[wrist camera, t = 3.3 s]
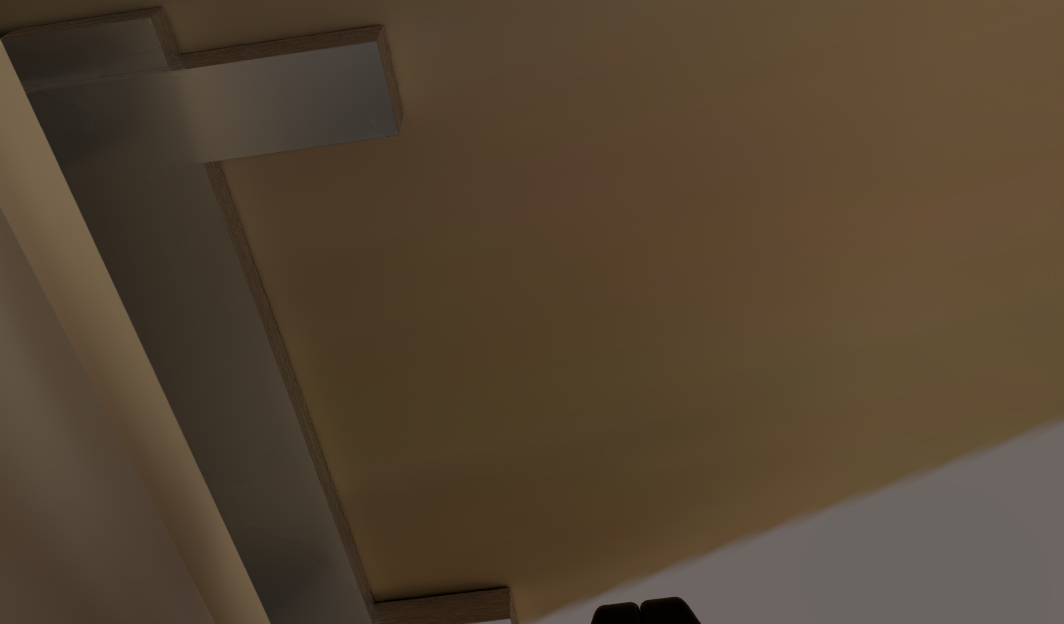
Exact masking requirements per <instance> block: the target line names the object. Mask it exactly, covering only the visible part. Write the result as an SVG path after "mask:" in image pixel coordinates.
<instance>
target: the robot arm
mask: <svg viewBox="0 0 1064 624" xmlns="http://www.w3.org/2000/svg"><path fill="white" fill-rule="evenodd" d="M591 624H701V623H700V622H699V620H698V619H697V618H696V616H695V614H694V613H693V612H692V610H691V609H690V607H689V606H688V605H687V603H686V602H684V600H682V599H681V598H679V597H670V598H661V599H653V600H646V601H644V602H643V603H642V604H641V606H640V609H639V607H638V605H637V604H635V603H633V602H627V603H619V604H611V605H602V606H600V607H599V608H597V610H596V611H595V613H594V616H593V619H592V622H591Z"/></svg>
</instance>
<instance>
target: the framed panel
mask: <svg viewBox="0 0 1064 624" xmlns="http://www.w3.org/2000/svg"><path fill="white" fill-rule="evenodd" d="M0 39H1V42H2V44H3V46H4V48H5V50H6V52H7V55H8V57H9V59H10V61H11V63H12V65H13V68H14V70H15V72H16V74H17V76H18V78H19V81H20V83H21V85H22V87H23V89H24V91H25V94H26V96H27V98H28V100H29V102H30V104H31V107H32V109H33V111H34V113H35V115H36V117H37V119H38V122H39V124H40V126H41V128H42V130H43V132H44V135H45V137H46V139H47V141H48V143H49V145H50V148H51V150H52V152H53V154H54V156H55V158H56V161H57V163H58V165H59V167H60V169H61V171H62V174H63V176H64V178H65V180H66V182H67V184H68V187H69V189H70V191H71V193H72V195H73V197H74V199H75V202H76V204H77V206H78V208H79V210H80V212H81V215H82V217H83V219H84V221H85V223H86V225H87V228H88V230H89V232H90V234H91V236H92V238H93V241H94V243H95V245H96V247H97V249H98V251H99V254H100V256H101V258H102V260H103V262H104V264H105V267H106V269H107V271H108V273H109V275H110V277H111V280H112V282H113V284H114V286H115V288H116V290H117V292H118V295H119V297H120V299H121V301H122V303H123V305H124V308H125V310H126V312H127V314H128V316H129V318H130V321H131V323H132V325H133V327H134V329H135V331H136V334H137V336H138V338H139V340H140V342H141V344H142V347H143V349H144V351H145V353H146V355H147V357H148V360H149V362H150V364H151V366H152V368H153V370H154V372H155V375H156V377H157V379H158V381H159V383H160V385H161V388H162V390H163V392H164V394H165V396H166V398H167V401H168V403H169V405H170V407H171V409H172V411H173V414H174V416H175V418H176V420H177V422H178V424H179V427H180V429H181V431H182V433H183V435H184V437H185V440H186V442H187V444H188V446H189V448H190V450H191V452H192V455H193V457H194V459H195V461H196V463H197V465H198V468H199V470H200V472H201V474H202V476H203V478H204V481H205V483H206V485H207V487H208V489H209V491H210V494H211V496H212V498H213V500H214V502H215V504H216V507H217V509H218V511H219V513H220V515H221V517H222V520H223V522H224V524H225V526H226V528H227V530H228V532H229V535H230V537H231V539H232V541H233V543H234V545H235V548H236V550H237V552H238V554H239V556H240V558H241V561H242V563H243V565H244V567H245V569H246V571H247V574H248V576H249V578H250V580H251V582H252V584H253V587H254V589H255V591H256V593H257V595H258V597H259V600H260V602H261V604H262V606H263V608H264V610H265V612H266V615H267V617H268V619H269V621H270V623H271V624H518V622H517V618H516V613H515V609H514V604H513V600H512V595H511V591H510V588H503V589H495V590H486V591H478V592H469V593H461V594H452V595H444V596H435V597H427V598H418V599H410V600H401V601H393V602H384V603H376V604H375V602H374V599H373V596H372V594H371V591H370V588H369V585H368V582H367V579H366V577H365V574H364V571H363V568H362V565H361V563H360V560H359V557H358V554H357V551H356V549H355V546H354V543H353V540H352V537H351V534H350V532H349V529H348V526H347V523H346V520H345V518H344V515H343V512H342V509H341V506H340V503H339V501H338V498H337V495H336V492H335V489H334V487H333V484H332V481H331V478H330V475H329V473H328V470H327V467H326V464H325V461H324V458H323V456H322V453H321V450H320V447H319V444H318V442H317V439H316V436H315V433H314V430H313V427H312V425H311V422H310V419H309V416H308V413H307V411H306V408H305V405H304V402H303V399H302V397H301V394H300V391H299V388H298V385H297V382H296V380H295V377H294V374H293V371H292V368H291V366H290V363H289V360H288V357H287V354H286V351H285V349H284V346H283V343H282V340H281V337H280V335H279V332H278V329H277V326H276V323H275V321H274V318H273V315H272V312H271V309H270V306H269V304H268V301H267V298H266V295H265V292H264V290H263V287H262V284H261V281H260V278H259V276H258V273H257V270H256V267H255V264H254V261H253V259H252V256H251V253H250V250H249V247H248V245H247V242H246V239H245V236H244V233H243V230H242V228H241V225H240V222H239V219H238V216H237V214H236V211H235V208H234V205H233V202H232V200H231V197H230V194H229V191H228V188H227V185H226V183H225V180H224V177H223V174H222V171H221V169H220V166H219V163H218V161H220V160H227V159H234V158H241V157H248V156H255V155H262V154H270V153H277V152H284V151H291V150H298V149H305V148H312V147H319V146H326V145H333V144H340V143H347V142H354V141H361V140H368V139H375V138H382V137H389V136H396V135H399V131H400V127H401V123H402V118H403V111H402V106H401V102H400V97H399V93H398V88H397V84H396V80H395V75H394V71H393V66H392V62H391V57H390V53H389V48H388V44H387V39H386V35H385V31H384V26H383V25H378V26H371V27H364V28H357V29H351V30H344V31H337V32H330V33H324V34H317V35H310V36H303V37H297V38H290V39H283V40H276V41H270V42H263V43H256V44H249V45H242V46H236V47H229V48H222V49H215V50H209V51H202V52H195V53H188V54H182V55H180V53H179V50H178V48H177V45H176V42H175V39H174V36H173V33H172V31H171V28H170V25H169V22H168V19H167V17H166V14H165V11H164V8H163V7H161V8H154V9H147V10H141V11H134V12H127V13H121V14H114V15H107V16H101V17H94V18H88V19H81V20H74V21H68V22H61V23H54V24H48V25H41V26H35V27H28V28H21V29H15V30H13V31H11V32H9V33H8V34H6V35H4V36H3V37H1V38H0Z"/></svg>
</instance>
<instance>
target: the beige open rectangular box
mask: <svg viewBox="0 0 1064 624" xmlns="http://www.w3.org/2000/svg"><path fill="white" fill-rule="evenodd" d="M0 624H271V623H270V621H269V619H268V617H267V615H266V612H265V610H264V608H263V606H262V604H261V602H260V600H259V597H258V595H257V593H256V591H255V589H254V587H253V584H252V582H251V580H250V578H249V576H248V574H247V571H246V569H245V567H244V565H243V563H242V561H241V558H240V556H239V554H238V552H237V550H236V548H235V545H234V543H233V541H232V539H231V537H230V535H229V532H228V530H227V528H226V526H225V524H224V522H223V520H222V517H221V515H220V513H219V511H218V509H217V507H216V504H215V502H214V500H213V498H212V496H211V494H210V491H209V489H208V487H207V485H206V483H205V481H204V478H203V476H202V474H201V472H200V470H199V468H198V465H197V463H196V461H195V459H194V457H193V455H192V452H191V450H190V448H189V446H188V444H187V442H186V440H185V437H184V435H183V433H182V431H181V429H180V427H179V424H178V422H177V420H176V418H175V416H174V414H173V411H172V409H171V407H170V405H169V403H168V401H167V398H166V396H165V394H164V392H163V390H162V388H161V385H160V383H159V381H158V379H157V377H156V375H155V372H154V370H153V368H152V366H151V364H150V362H149V360H148V357H147V355H146V353H145V351H144V349H143V347H142V344H141V342H140V340H139V338H138V336H137V334H136V331H135V329H134V327H133V325H132V323H131V321H130V318H129V316H128V314H127V312H126V310H125V308H124V305H123V303H122V301H121V299H120V297H119V295H118V292H117V290H116V288H115V286H114V284H113V282H112V280H111V277H110V275H109V273H108V271H107V269H106V267H105V264H104V262H103V260H102V258H101V256H100V254H99V251H98V249H97V247H96V245H95V243H94V241H93V238H92V236H91V234H90V232H89V230H88V228H87V225H86V223H85V221H84V219H83V217H82V215H81V212H80V210H79V208H78V206H77V204H76V202H75V199H74V197H73V195H72V193H71V191H70V189H69V187H68V184H67V182H66V180H65V178H64V176H63V174H62V171H61V169H60V167H59V165H58V163H57V161H56V158H55V156H54V154H53V152H52V150H51V148H50V145H49V143H48V141H47V139H46V137H45V135H44V132H43V130H42V128H41V126H40V124H39V122H38V119H37V117H36V115H35V113H34V111H33V109H32V107H31V104H30V102H29V100H28V98H27V96H26V94H25V91H24V89H23V87H22V85H21V83H20V81H19V78H18V76H17V74H16V72H15V70H14V68H13V65H12V63H11V61H10V59H9V57H8V55H7V52H6V50H5V48H4V46H3V44H2V42H1V39H0Z"/></svg>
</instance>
